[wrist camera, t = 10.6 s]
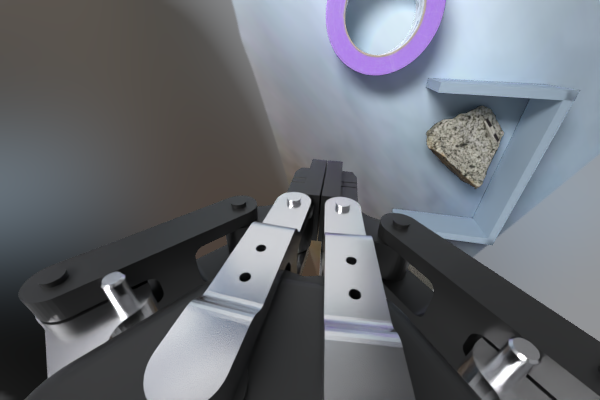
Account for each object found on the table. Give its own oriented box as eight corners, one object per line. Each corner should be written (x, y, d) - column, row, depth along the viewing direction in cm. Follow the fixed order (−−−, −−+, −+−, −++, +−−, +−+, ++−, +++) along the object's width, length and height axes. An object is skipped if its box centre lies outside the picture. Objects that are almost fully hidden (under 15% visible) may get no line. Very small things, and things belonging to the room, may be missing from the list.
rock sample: (553, 132, 28) (510, 180, 26) (498, 163, 35) (462, 202, 33) (476, 76, 30) (431, 116, 28) (440, 116, 37) (402, 150, 35)
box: (428, 78, 31) (441, 82, 26) (546, 84, 29) (580, 90, 25) (391, 213, 41) (396, 232, 37) (477, 224, 39) (492, 245, 35)
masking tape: (424, -83, 24) (435, -104, 21) (443, 46, 29) (455, 46, 26) (313, -16, 28) (308, -24, 25) (346, 88, 33) (346, 92, 30)
